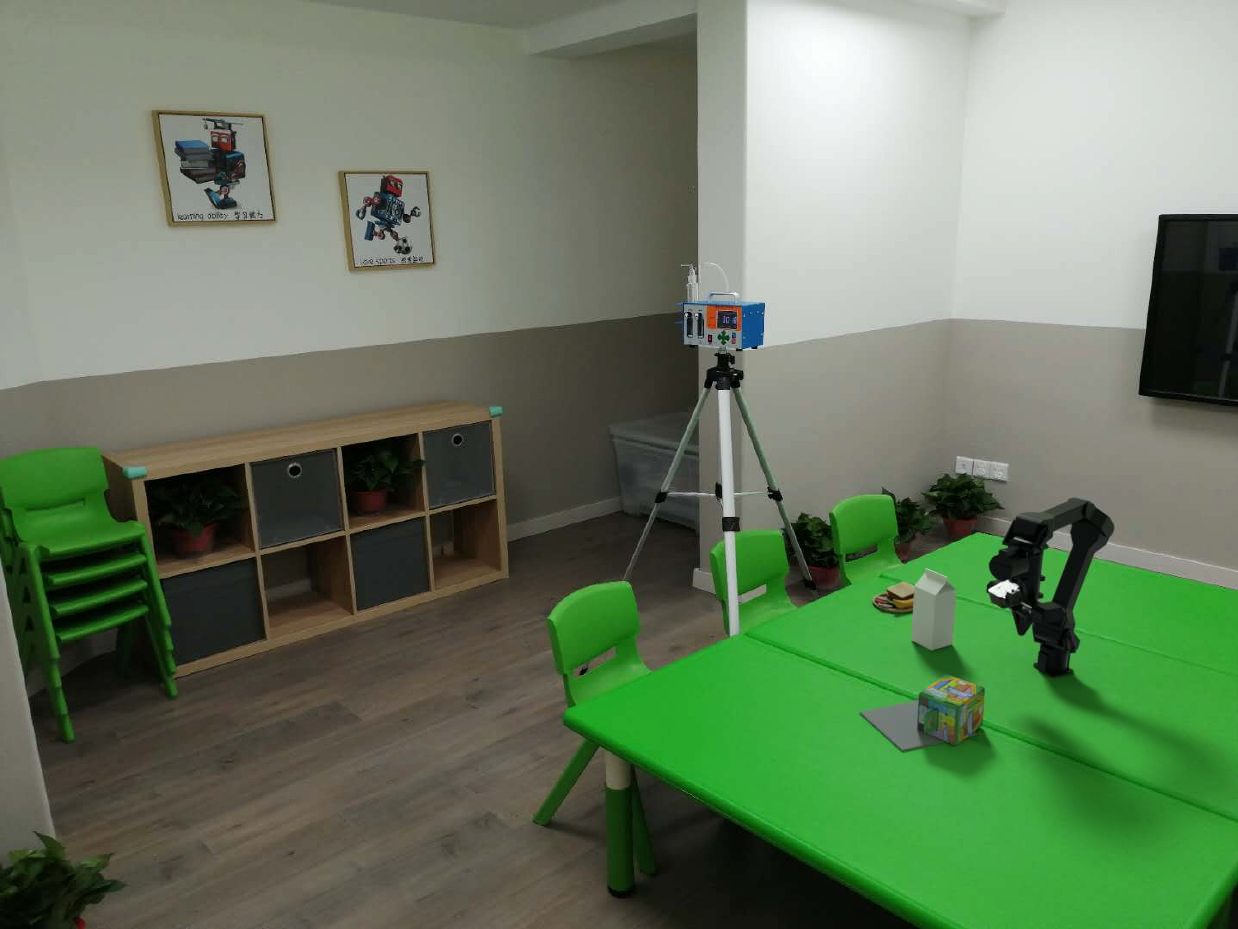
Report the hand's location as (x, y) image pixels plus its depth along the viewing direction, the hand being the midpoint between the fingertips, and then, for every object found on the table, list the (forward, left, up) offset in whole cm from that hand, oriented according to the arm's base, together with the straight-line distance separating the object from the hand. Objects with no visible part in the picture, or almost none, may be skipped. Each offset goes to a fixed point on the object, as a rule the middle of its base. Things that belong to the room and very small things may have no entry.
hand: (1021, 635), depth 211 cm
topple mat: (+30, +6, -13) cm, 34 cm away
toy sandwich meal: (-2, -50, -14) cm, 52 cm away
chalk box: (+20, +8, -8) cm, 23 cm away
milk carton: (+4, -26, -13) cm, 30 cm away
